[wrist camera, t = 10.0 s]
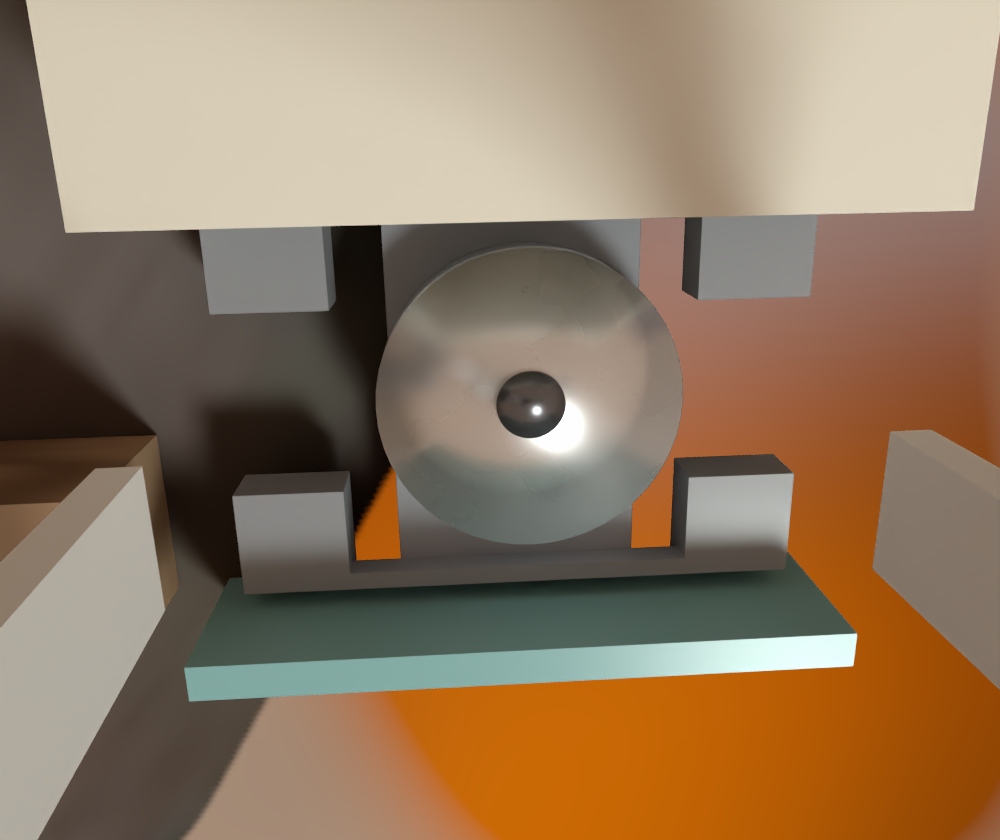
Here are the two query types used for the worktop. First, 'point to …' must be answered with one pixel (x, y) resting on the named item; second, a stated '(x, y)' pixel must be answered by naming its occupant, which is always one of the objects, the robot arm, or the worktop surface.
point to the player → (509, 109)
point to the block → (61, 468)
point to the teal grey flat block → (501, 566)
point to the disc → (528, 393)
